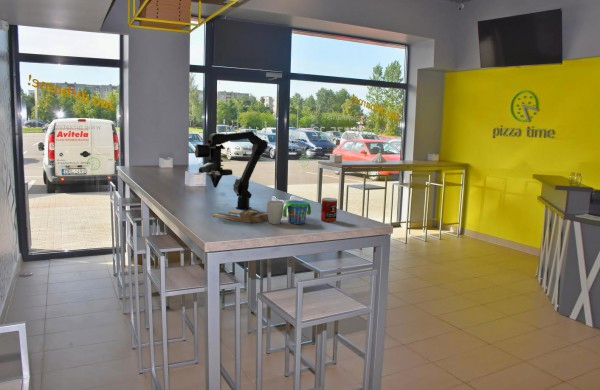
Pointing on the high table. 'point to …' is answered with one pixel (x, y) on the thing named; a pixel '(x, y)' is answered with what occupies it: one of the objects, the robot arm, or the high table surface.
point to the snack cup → (297, 211)
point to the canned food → (328, 209)
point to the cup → (275, 211)
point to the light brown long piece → (253, 219)
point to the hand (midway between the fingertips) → (215, 187)
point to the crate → (248, 214)
